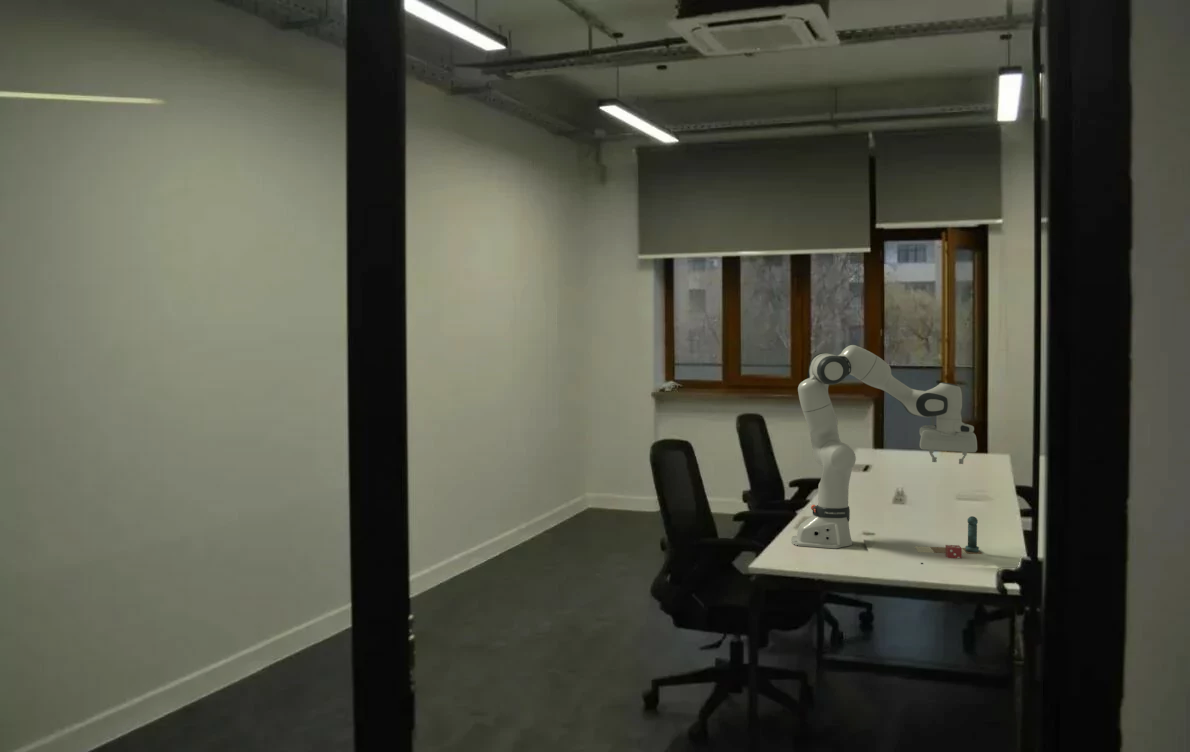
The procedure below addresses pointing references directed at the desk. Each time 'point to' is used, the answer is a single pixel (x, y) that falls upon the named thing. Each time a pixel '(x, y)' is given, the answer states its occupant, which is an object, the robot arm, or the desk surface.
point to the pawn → (972, 535)
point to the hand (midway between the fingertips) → (947, 462)
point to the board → (941, 550)
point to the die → (953, 551)
